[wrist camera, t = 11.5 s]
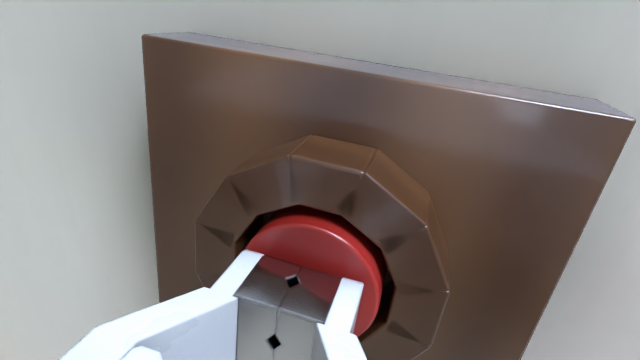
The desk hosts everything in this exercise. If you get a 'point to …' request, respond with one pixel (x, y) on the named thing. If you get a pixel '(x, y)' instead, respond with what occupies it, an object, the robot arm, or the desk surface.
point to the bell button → (326, 252)
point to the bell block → (378, 181)
